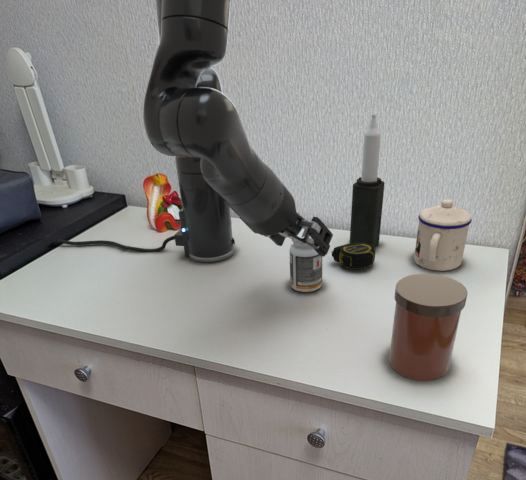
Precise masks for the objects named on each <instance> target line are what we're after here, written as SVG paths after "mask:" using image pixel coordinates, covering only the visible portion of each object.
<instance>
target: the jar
mask: <svg viewBox="0 0 526 480" xmlns="http://www.w3.org/2000/svg"><path fill="white" fill-rule="evenodd" d="M393 296H394V301H395V306H394V307H395V309H394V315H393V324H392V332H391V338H390V339H391V340H390V348H389V356H388V363H389V365H390V367H391V368H392V370H393V371H394V372H395V373H397V374H398V375H401V376H402V377H404V378H406V379H410V380H415V381H421V382H422V381H423V382H425V381H426V382H428V381H434V380H438V379H441V378H443V377H444V376H445V375H446V374H447V373H448V371H449V370H450V365H451V361H452V357H453V351H454V346H455V341H456V337H457V334H458V333H457V332H458V328H459V324H460V319H461V314H462V311H463V310H464V308H465V307H466V303H467V298H468V289H467V288H466V286H465V285H464V284H463V283H462V282H460V281H459V280H457V279H454V278H452V277H449V276H447V275H446V276H445V275H441V274H436V273H416V274H410V275H406V276H404V277H402V278H401V279H399V280H398V281H397V282H396V284H395V288H394V295H393Z"/></svg>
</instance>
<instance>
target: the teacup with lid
mask: <svg viewBox="0 0 526 480" xmlns="http://www.w3.org/2000/svg"><path fill="white" fill-rule="evenodd" d="M472 221H473V220H472V215H471V213H470V212H469V211H467V210H465V209H463V208H459V207H458V206H456V205H455V204H454V201H453V200H452V199H449V198H446V199H445V198H444V199H442V200H441V202H440V204H437V205H434V206H429V207H426V208H424V209H422V210H421V211H420V213H419V215H418V227H417V232H416V233H417V234H416V241H415V248H414V255H413V260H414V262H415V263H416V265H418V266H419V267H421V268H424V269H427V270H431V271H437V272H439V271H442V272H443V271H452V270H454V269H457V268H459V267H460V266H461V265H462V262H463V258H464V253H465V248H466V243H467V238H468V233H469V228H470V224H471V223H472Z"/></svg>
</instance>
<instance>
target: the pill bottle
mask: <svg viewBox="0 0 526 480" xmlns="http://www.w3.org/2000/svg"><path fill="white" fill-rule="evenodd" d="M304 230H305V229H303V228H302V230H301V231H300V233H299V234H298V235H297V236H298V237H300V238H301V237H302V234H303V232H304ZM309 239H310V240H311V241H314V240H313V239H312V238H311V237H309ZM291 241H292V244H291V245H290V247H289V251H288V253H289V281H290V282H289V283H290V286H291V288H292V290H295V291H297V292H301V293H311V292H314V291H317V290H319V289H320V288H321V287H322V286H323V256H320V255H319V254H318V253H317V252H316V251H315V250H314V249H313V247H311V246H310V245H308V244H299V243H298V242H296V241H294V240H292V239H291Z"/></svg>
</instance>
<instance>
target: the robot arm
mask: <svg viewBox="0 0 526 480" xmlns="http://www.w3.org/2000/svg"><path fill="white" fill-rule="evenodd" d="M231 1H232V0H155V7H156V8H155V9H156V20H157V33H158V34H157V37H158V39H157V40H158V41H157V42H158V43H157V45H158V46H157V49H156V52H155V56H154V58H153V63H152V67H151V71H150V75H149V79H148V83H147V87H146V90H145V94H144V100H143V108H142V118H143V119H142V120H143V126H144V130H145V133H146V136H147V139H148V141H149V142H150V144H151V145H152V147H153V148H154V150H156V151H157V152H158V153H160V154H162V155H165V156H168V157H174V159H175V166H176V175H177V181H178V188H179V194H180V202H181V209H180V210H179V211H178V217H179V224H180V229H179V230H178V231H177V232H176V233H174V235H172V236H169V237H167V238H165V240H163V242H162V245H161V246H159V247H157V248H142V247H137V246H129V245H124V244H121V243H118V242H115V241H112V240H102V239H101V240H99V239H98V240H85V241H83V240H82V241H71V240H66V239H62V238H61V239H60V238H57V239H58V240H57V242H50V241H49V242H48V243H47V244H46V247H52V245H54V244H56V243H58V244H64V245H70V246H87V245H88V246H90V245H109V246H113V247H117V248H119V249H122V250H126V251H134V252H140V253H159V252H161V251H163V250H165V248H166V247H167V244H168V243H169V242H171V241H175V246H177V247H183V250H184V258H189V259H191V260H193V261H195V262H199V263H215V262H220V261H225V260H226V259H228V258H230V257H232V256H233V255H234V254H235V246H236V242H235V238H234V237H233V228H232V218H231V217H232V216H231V210H232V211H233V212H234V214H235V215H237V216H238V217H239V219H240V220H241V222H243V223H244V224H245V225H246V226H247V227H248V228H249V229H250V231H252V232H253V233H254V234H257V235H261V236H263V237H265V238H269V239H270V240H271V241H272V242H273V243H274V244H275V245H276V246H278V247H282V246H283V245H284V243H285V240H286V238H288V239H290V240H291V241H292V240H294V241H296V242H298V243H299V244H308V245H310V246H311V247H313V249H314V250H315V251H316V252H317V253H318V254H319V255H320V256H322V258H323V257H326V255H328V253H329V251H330V248H331V245H330V243H331V241H332V238H333V236H334V234H333V233H332V232H331V230H330V229H329V228H328V227H327V226H326V224H325V223H324V222H323V221H322V220H321V218H319V217H318V216H312V218H311V220H308V219H306V218H305V217H303V216H302V215H300V213H299V212H298V211H297V208H296V201H295V198H294V196H293V194H292V193H291V192H290V190H288V188H287V187H286V186H285V184H284V183H283V182H282V181H281V179H280V178H279V177H278V176H277V174H276V173H275V172H274V171H273V170H272V169H271V167H269V166H268V165H267V164H266V163H265V162H264V161H263V160H262V159H261V158H260V157H259V155H258V154H257V152H256V151H255V150H254V149H253V148H252V146H251V145H250V143H249V140H248V136H247V133H246V131H245V128H244V125H243V122H242V119H241V116H240V113H239V111H238V108H237V107H236V105H235V104H234V102H233V101H232V100H231V99H230V98H229V97H228V96H227V95H226V94H224V93H223V86H222V82H221V77H220V76H219V73H218V72H217V70H216V69H215V68H213V67H215V66H218V65H219V64H221V63H222V62H223V61H224V59H225V57H226V55H227V52H228V51H227V50H228V44H229V43H228V42H229V30H230V15H231V4H232V3H231ZM302 228H303V229H305V230H304V232H303V234H302V237H301V238H300V237H298V236H297V235H298V234H299V233H300V231H301V230H302ZM309 237H311V238H312V239H313V240H314V241H311V240H310V239H309Z"/></svg>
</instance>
